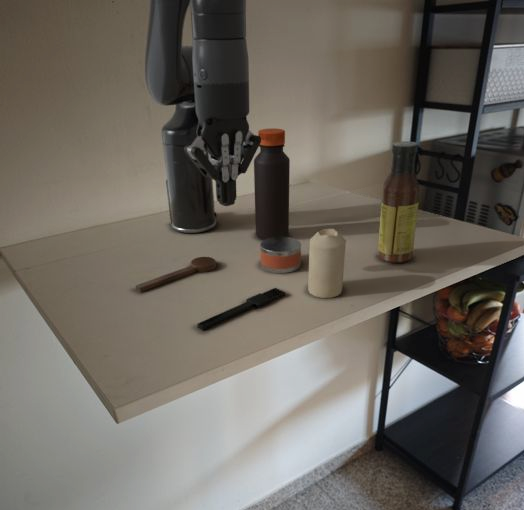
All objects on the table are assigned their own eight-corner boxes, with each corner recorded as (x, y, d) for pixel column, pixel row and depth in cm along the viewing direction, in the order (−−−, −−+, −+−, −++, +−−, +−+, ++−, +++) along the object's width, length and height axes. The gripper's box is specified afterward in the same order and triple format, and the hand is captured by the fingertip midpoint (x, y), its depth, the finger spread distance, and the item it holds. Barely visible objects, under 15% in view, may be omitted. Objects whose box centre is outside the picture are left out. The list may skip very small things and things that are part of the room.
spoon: (145, 295, 81) (144, 289, 80) (131, 286, 84) (130, 281, 83) (220, 267, 90) (220, 261, 89) (205, 260, 92) (205, 254, 92)
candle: (340, 299, 78) (345, 239, 73) (305, 296, 80) (307, 236, 74) (343, 284, 83) (348, 226, 77) (310, 281, 84) (312, 224, 78)
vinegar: (269, 244, 98) (268, 135, 87) (249, 234, 103) (245, 130, 92) (295, 236, 102) (297, 130, 91) (274, 227, 106) (274, 126, 95)
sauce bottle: (414, 254, 93) (432, 140, 82) (407, 266, 88) (426, 148, 77) (379, 248, 95) (393, 138, 84) (371, 261, 91) (384, 145, 80)
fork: (205, 332, 71) (205, 328, 71) (194, 326, 73) (194, 321, 72) (285, 295, 80) (286, 291, 80) (274, 290, 82) (274, 286, 81)
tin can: (252, 265, 90) (251, 244, 88) (279, 253, 94) (279, 233, 92) (281, 277, 86) (281, 255, 84) (308, 264, 90) (309, 243, 88)
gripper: (240, 72, 73) (243, 190, 83) (164, 79, 66) (177, 208, 76) (275, 76, 69) (274, 201, 79) (197, 84, 61) (206, 220, 71)
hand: (226, 204), depth 77 cm, fingers closed
